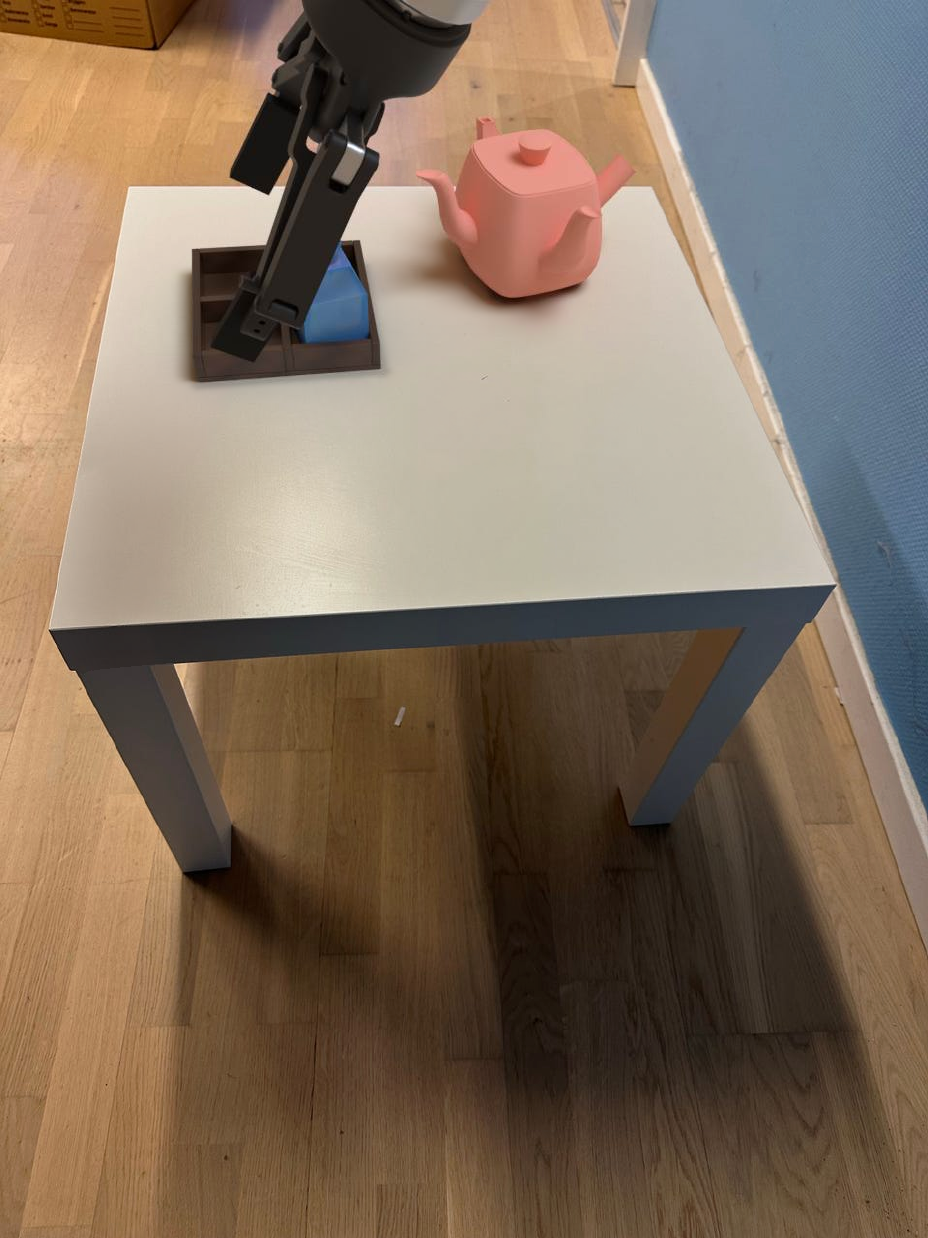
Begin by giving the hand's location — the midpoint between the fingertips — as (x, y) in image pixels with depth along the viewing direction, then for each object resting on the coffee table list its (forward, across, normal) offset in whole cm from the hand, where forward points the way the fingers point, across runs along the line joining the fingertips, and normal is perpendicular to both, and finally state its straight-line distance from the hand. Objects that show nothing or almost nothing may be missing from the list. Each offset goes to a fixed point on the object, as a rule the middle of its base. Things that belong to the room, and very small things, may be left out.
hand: (241, 262), depth 57 cm
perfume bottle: (+23, +17, -16) cm, 33 cm away
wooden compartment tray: (+26, +20, -13) cm, 36 cm away
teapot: (+16, +30, -35) cm, 49 cm away
